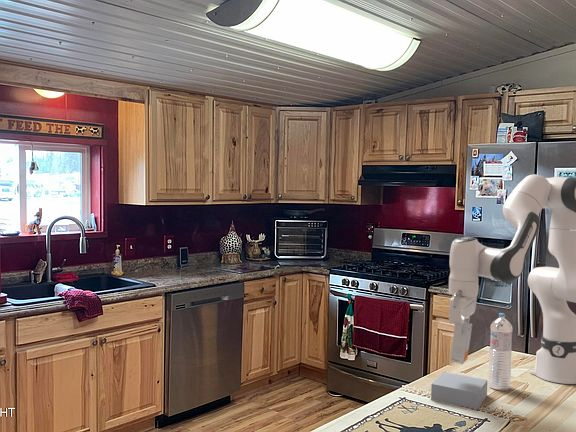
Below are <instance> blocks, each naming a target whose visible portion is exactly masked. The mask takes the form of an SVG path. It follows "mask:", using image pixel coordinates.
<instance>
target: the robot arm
mask: <svg viewBox="0 0 576 432" xmlns="http://www.w3.org/2000/svg"><path fill="white" fill-rule="evenodd" d="M543 209H547V210H551V216H550V222H549V223H550V224H549V229H548V230H549V233H548V245H547V249H548V252H549V253H550V254H551V255H552V256H553V257H554V258H555V259H556V260H557V262H558V267H553V266H538V267H534V268H533V269H532V270H530V272H529V273H528V277H527V285H528V287H529V290H530V291H531V292H533V294H534V295H535V297H536V298H537V299H538V302H539V303H538V304H539V305H540V309H541V312H542V318H543V319H542V321H543V325H542V326H543V327H542V328H543V330H542V336H541V339H540V343H541V344H540V345H541V347H540V348H539V349H538V350H536V353H535V366H534V367H532V368H531V369H529V374H531V375H534V376H537V377H538V378H540V379H542V380H544V381H548V382H551V383H557V384H563V385H564V384H565V385H576V313H574V312H573V311H572V310H571V309H570V307H569V305H568V302H571V303H576V177H574V176H571V177H570V176H569V177H567V176H566V177H565V176H564V177H563V176H552V177H544V176H543V175H540V174H535V173H534V174H529V175H527V176H525V177H524V178H522V180H521V181H520V182H519V183H518V184H516V186H515V187H514V189H512V191H511V192H510V193H509V194H508V196H507V198H506V199H505V201H504V203H503V205H502V214H503V217H504V219H505V220H506V221H507V222H508V224H510V225H511V226H512V227H514V228H515V229H517V230H516V232H515V235H514V236H513V239H512V240H511V243H510V245H509V246H507V247H505V248H495V247H489V246H487V245H483V244H482V243H480V242H479V241H478V239H477V237H474V236H461V237H456V238H455V239H454V240H452V243H451V246H450V250H449V260H448V261H449V270H450V272H449V276H448V294H450V295H451V296H452V297H451V298H450V300H449V307H448V308H449V309H448V321H449V323H452V324H454V328H455V329H456V335H462V333H463V329H462V323H463V322H467V323H470V318H471V316H473V314H475V312H476V308H477V300H478V295H479V292H480V285H479V277H483V278H487V279H491V280H497V281H499V282H503V283H506V284H510V283H513V282H515V281H516V280H518V279H519V277H520V276H521V275H522V274H523V271H524V267H525V263H526V259H527V257H528V254H529V252H530V250H531V248H532V247H533V244H534V241H535V240H536V237H537V235H538V232H539V229H540V225H541V219H540V217H539V215H540V212H541V211H542V210H543Z"/></svg>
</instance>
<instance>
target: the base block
mask: <svg viewBox="0 0 576 432" xmlns="http://www.w3.org/2000/svg"><path fill="white" fill-rule="evenodd" d="M430 393H431V394H430V400H432V401H435V402H436V401H437V402H439V403H445V404H450V405H455V406H459V407H463V408H469V409H472V410H473V409H474V410H478V409H480V406H481V405H482V403H483V402H484V401H485V399H486V398H487V396H488V379H484V378H479V377H473V376H467V375H462V374H458V373H451V372H447V371H446V372H445V371H443V372H442V373H441V374H440V375H439V376H438V377H437V378H435V380H434V381H433V382H432V383H431V388H430Z"/></svg>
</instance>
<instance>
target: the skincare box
mask: <svg viewBox="0 0 576 432" xmlns="http://www.w3.org/2000/svg"><path fill="white" fill-rule="evenodd" d="M472 328H473V323H471V322H469V323H467V322H463V323H462V329H463V333H462V335H456V329H455V327H454V330H453V336H452V342H451V348H450V349H451V351H450V357H449V361H450V362H454V363H456V364H460V365H463V364H464V363H465V362H467V360H468V358H469V357H468V356H469V350H470V344H471V343H470V342H471V336H472Z"/></svg>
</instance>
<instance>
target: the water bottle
mask: <svg viewBox="0 0 576 432" xmlns="http://www.w3.org/2000/svg"><path fill="white" fill-rule="evenodd" d="M505 317H506V314H505V313H504V312H499V313H498V318H496V319H495V320H493V321H492V323H491V324H490V343H489V344H490V346H489V355H488V356H489V359H488V360H489V362H488V366H489V367H488V387H489V388H490V389H493V390H495V391H503V392H504V391H509V390H510V389H511V378H512V377H511V375H512V355H513V354H512V351H513V350H512V343H513V342H512V341H513V339H512V338H513V337H512V336H513V325H512V324H511V322H510V321H509V320H508V319H506V318H505Z"/></svg>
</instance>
